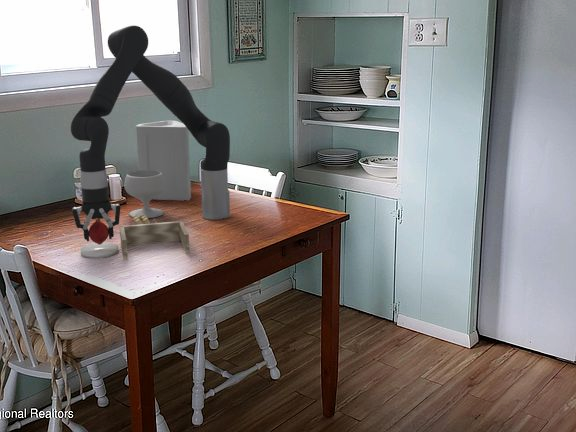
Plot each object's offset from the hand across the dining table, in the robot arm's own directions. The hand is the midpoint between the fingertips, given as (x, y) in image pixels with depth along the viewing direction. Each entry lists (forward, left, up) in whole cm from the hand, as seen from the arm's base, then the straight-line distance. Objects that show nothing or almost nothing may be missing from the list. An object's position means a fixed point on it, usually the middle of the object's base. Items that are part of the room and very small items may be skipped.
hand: (99, 239), depth 206 cm
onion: (0, 0, -2) cm, 2 cm away
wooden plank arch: (-16, +2, -4) cm, 17 cm away
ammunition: (-15, -19, -4) cm, 25 cm away
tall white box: (-28, -61, -4) cm, 67 cm away
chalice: (-17, -36, -4) cm, 40 cm away
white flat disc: (0, 0, -4) cm, 4 cm away
